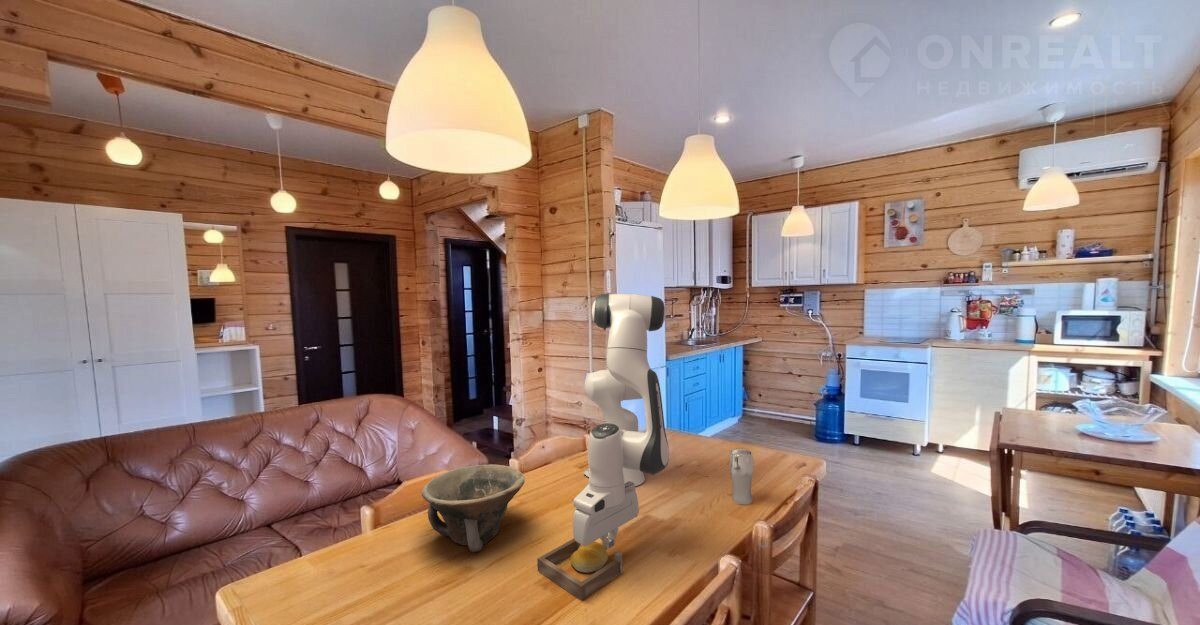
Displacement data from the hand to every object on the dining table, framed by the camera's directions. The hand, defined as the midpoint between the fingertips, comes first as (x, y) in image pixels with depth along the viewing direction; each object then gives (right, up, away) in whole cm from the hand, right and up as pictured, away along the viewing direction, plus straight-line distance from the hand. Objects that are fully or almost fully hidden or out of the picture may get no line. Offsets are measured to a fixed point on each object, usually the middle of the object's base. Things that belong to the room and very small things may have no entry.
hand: (608, 547), depth 109 cm
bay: (-7, -2, -7) cm, 10 cm away
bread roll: (-5, -2, -3) cm, 6 cm away
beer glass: (+42, 0, +26) cm, 49 cm away
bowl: (-36, -3, +12) cm, 38 cm away
